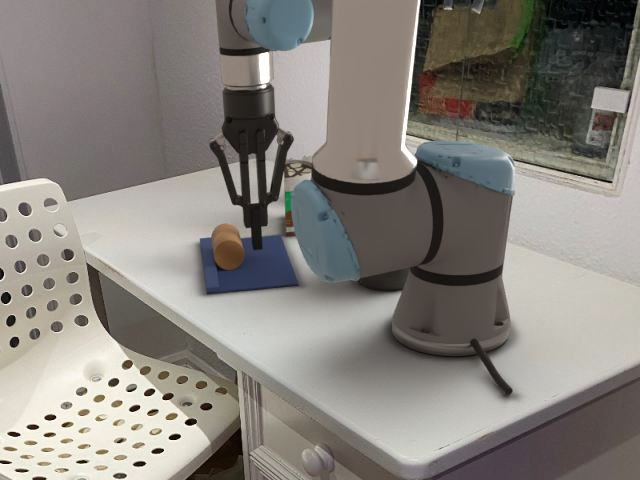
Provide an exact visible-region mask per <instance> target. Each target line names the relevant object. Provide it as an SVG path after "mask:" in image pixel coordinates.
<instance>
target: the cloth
mask: <svg viewBox="0 0 640 480" xmlns="http://www.w3.org/2000/svg"><path fill="white" fill-rule="evenodd" d="M241 241H242V245H243V249H244V260H243V262H242V264H241V265H240V266H239V267H237V268H236V269H233V270H225V269H222V268H221V267H219V266H218V265H217V263H216V262H215V259H214V253H213V247H212V241H211V237H200V238H199V245H200V252H201V253H200V254H201V259H202V267H203V275H204V281H205V283H204V284H205V289H206V294H207V295H214V294H223V293H235V292H236V293H237V292H244V291H255V290H266V289H267V290H268V289H277V288H287V287H295V286H296V287H297V286H299V285H300V283H299V281H298V278H297V276H296V273H295V270H294V268H293V265H292V262H291V259H290V257H289V254H288V251H287V248H286V245H285V243H284V240H283V238H282V235H281V234H273V235H264V236H263V235H262V246H263V249H261V250H253V247H252V238H251V237H241Z"/></svg>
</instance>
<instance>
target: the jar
mask: <svg viewBox="0 0 640 480" xmlns="http://www.w3.org/2000/svg"><path fill="white" fill-rule="evenodd" d="M408 275H409V268H405V269H401V270H396V271H391V272H386V273H382V274H377V275H372V276H368V277H363V278H360V279H359V280H358V281H359V283H360V284H361V285H362V286H364V287H366V288H368V289H372V290H374V291H375V290H376V291H385V292H387V291H390V292H391V291H399V290H403V288H404V285H405V283H406V280H407V278H408Z"/></svg>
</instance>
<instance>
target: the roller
mask: <svg viewBox="0 0 640 480" xmlns="http://www.w3.org/2000/svg"><path fill="white" fill-rule="evenodd" d="M210 236H211V241H212V247H213V253H214V259H215V262H216V263H217V265H218V266H219V267H221V268H222V269H225V270H233V269H236V268H237V267H239V266H240V265H241V264H242V262H243V260H244V249H243V245H242V241H241V238H242V237H241V233H240V231H239V229H238V228H237V227H236V226H235V225H234V224H231V223H228V222H227V223H221V224H219V225H217V226H216V227H214V229H213V230H212V233H211V235H210Z"/></svg>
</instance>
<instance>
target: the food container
mask: <svg viewBox="0 0 640 480" xmlns="http://www.w3.org/2000/svg"><path fill="white" fill-rule="evenodd" d="M311 170H312V162H309V161H304V160H301V159H295V158H292V159H290V158H289V159H288V158H286V163H285V168H284V173H283V193H284V195H283V196H284V220H285V223H284V224H285V237H294V236H295V237H296V234H295V230H294V226H293V220H292V212H291V198H292V193H293V191H294V188H295V186H296V185H297V184H299V183H300V182H302V181H304V180H309V181H310V180H311Z"/></svg>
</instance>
